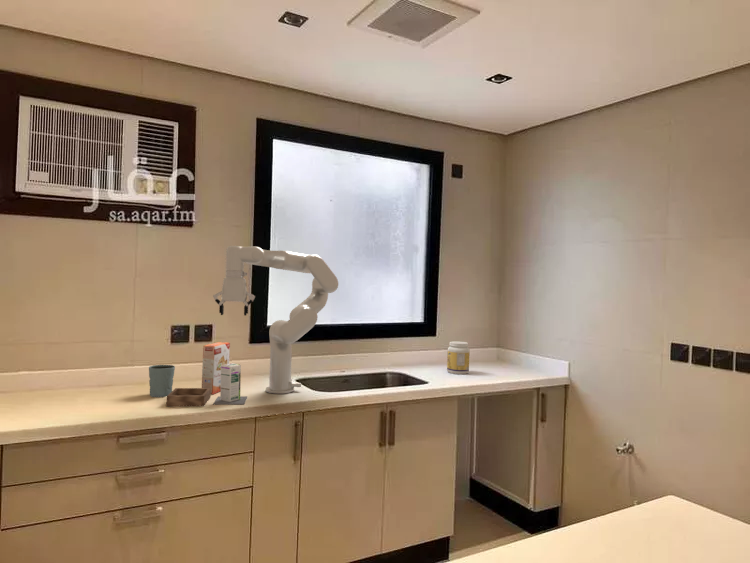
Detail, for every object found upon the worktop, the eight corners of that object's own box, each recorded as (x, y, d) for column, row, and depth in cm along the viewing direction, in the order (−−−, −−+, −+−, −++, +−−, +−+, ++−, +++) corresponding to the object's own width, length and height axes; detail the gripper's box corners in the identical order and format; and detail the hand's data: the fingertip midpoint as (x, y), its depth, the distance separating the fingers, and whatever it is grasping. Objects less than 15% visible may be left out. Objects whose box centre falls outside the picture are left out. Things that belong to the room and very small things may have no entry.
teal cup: (142, 396, 216) (143, 367, 215) (160, 391, 225) (161, 363, 225) (162, 398, 212) (162, 369, 212) (179, 393, 222) (180, 365, 221)
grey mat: (247, 397, 219) (247, 396, 219) (244, 404, 207) (244, 403, 207) (218, 397, 217) (218, 396, 217) (213, 404, 205) (213, 403, 205)
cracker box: (213, 395, 221) (214, 346, 221) (200, 394, 222) (202, 345, 222) (229, 388, 235) (230, 342, 234) (217, 387, 236) (218, 341, 236)
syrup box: (229, 402, 208) (230, 366, 208) (219, 400, 211) (220, 364, 211) (240, 399, 213) (241, 364, 213) (230, 397, 216) (231, 362, 216)
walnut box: (210, 397, 216) (210, 388, 216) (203, 406, 202) (204, 396, 202) (175, 397, 214) (175, 388, 214) (166, 406, 200) (166, 396, 200)
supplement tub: (444, 370, 295) (445, 340, 295) (465, 370, 297) (466, 341, 296) (449, 374, 283) (450, 343, 283) (471, 374, 284) (472, 344, 284)
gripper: (256, 275, 226) (255, 314, 226) (215, 274, 223) (214, 314, 224) (254, 275, 218) (253, 316, 219) (212, 274, 216) (211, 315, 216)
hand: (233, 315), depth 221 cm, fingers open, 9 cm apart
